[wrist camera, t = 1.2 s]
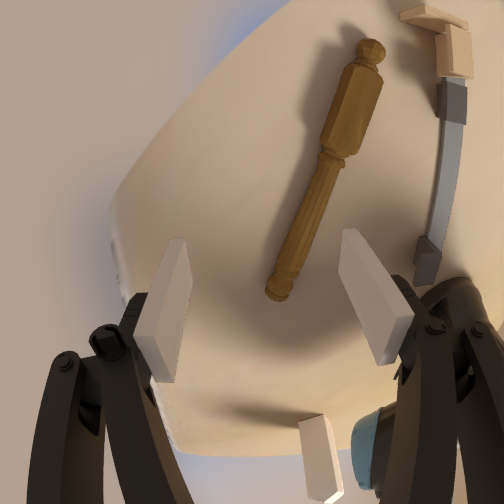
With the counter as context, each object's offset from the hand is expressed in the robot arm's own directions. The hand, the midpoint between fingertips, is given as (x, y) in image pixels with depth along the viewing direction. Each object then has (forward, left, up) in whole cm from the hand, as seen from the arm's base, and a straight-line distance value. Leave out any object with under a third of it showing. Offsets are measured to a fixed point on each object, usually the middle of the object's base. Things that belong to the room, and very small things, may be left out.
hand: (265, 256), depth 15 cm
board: (+2, -20, -15) cm, 25 cm away
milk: (-54, -11, -16) cm, 57 cm away
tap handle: (0, -7, -16) cm, 17 cm away
